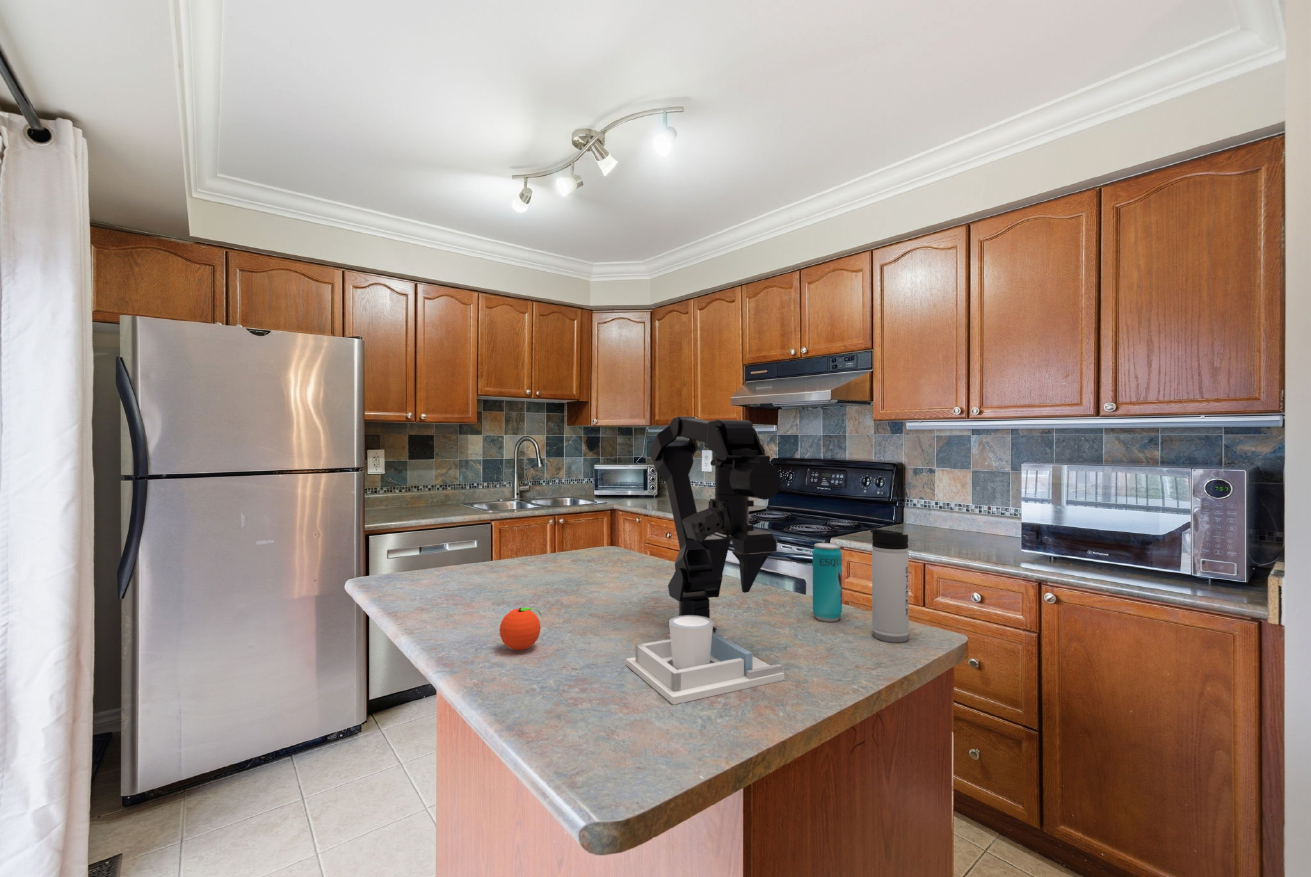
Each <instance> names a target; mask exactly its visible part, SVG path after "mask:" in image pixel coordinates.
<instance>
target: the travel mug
mask: <svg viewBox="0 0 1311 877" xmlns="http://www.w3.org/2000/svg"><path fill="white" fill-rule="evenodd" d="M870 533H872V537H871V539H872V540H871V541H872V542H871V543H872V544H871V548H872V550H871V579H872V581H871V590H872V591H871V603H872V604H871V608H872V610H871V611H872V612H871V618H872V622H871V623H872V624H871V626H872V628H871V631H872V637H874V638H875V639H877V640H879V641H881V642H887V643H893V644H894V643H895V644H897V643H899V644H900V643H905V642H907V641H908V640H909V639H910V632H909V629H910V626H909V625H910V622H909V621H910V616H909V614H910V610H909V609H910V607H909V604H910V602H909V600H910V599H909V598H910V596H909V592H910V591H909V590H910V588H909V586H910V585H909V581H910V579H909V571H910V570H909V535H908V534H903V533H902V532H899V531H894V530H887V529H878V528H875V527H872V528H870Z"/></svg>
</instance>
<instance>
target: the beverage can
mask: <svg viewBox="0 0 1311 877" xmlns="http://www.w3.org/2000/svg"><path fill="white" fill-rule="evenodd" d="M813 547H814V548H813V550H812V612H813V614H814V617H815V618H816V620H817V621H821V622H826V623H827V622H828V623H830V622H831V623H834V622H837V621H839V620H840V619H841V615H842V613H843V553H842V551H841V550H842V549H841V545H840V544H837V543H832V542H831V543H830V542H829V543H828V542H819V543H818V542H817V543H815V544H814V545H813Z"/></svg>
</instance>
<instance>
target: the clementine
mask: <svg viewBox="0 0 1311 877" xmlns="http://www.w3.org/2000/svg"><path fill="white" fill-rule="evenodd" d="M532 610H536V611H537V612H538V614H539V615H540V616H541V617H543V615H542V613H541V612H540V611H539V610H538V609H537V608H532V607H522V608H521V607H519V608H514V609H512V610H510V611H509V612H508V613H506V614H505V616H504V617H503V618H502V620H501V622H500V625H499V636H500V639H501V641H502V643H503V644H504V645H505V646H506V647H507V648H509V649H510V650H514V651H523V650H525V649H526V650H527V649H529V648H531V647H532V646H533V645H534V644H535V643H536V642H537V641H538V640H539V639H538V638H539V636H540V635H541V623H540V622H541V621H540V619H539V616H537V615H536V613H535V612H534V611H532Z"/></svg>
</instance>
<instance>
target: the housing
mask: <svg viewBox="0 0 1311 877" xmlns="http://www.w3.org/2000/svg"><path fill="white" fill-rule="evenodd" d="M723 637H724V638H725V639H727V640H729V641H730V637H728V636H726V635H725V636H723ZM625 666H627V668H629V669H630V670H631V671H632V672H634V673H635V674H636V675H637V676H638V677H640V678H641V680H643V681H644V682H646V683H647V684H648V685H649V686H650V687H651V688H653V690H655V691H656V692H657V693H658V694H659V695H661V696H662V697H663V698H664V699H665V700H667V702H669V703H671V704H672V705H677V704H683V703H686V702H691V701H696V700H701V699H705V698H710V697H713V696H718V695H722V694H727V693H732V692H737V691H742V690H745V689H750V688H754V687H759V686H763V685H764V686H765V685H768V684H772V683H776V682H777V683H778V682H781V681H782V682H783V681H785V672H783V665H781V664H779V663H776V664H773V665H772V664H771V665H770V664H768V663H767V662H764V661H763V660H761V659H759V658H757V657H755V656H754V655H753V669H752V670H747V671H746V676H745V675H744V660H743V659H741V658H737V659H732V660H727V661H720V660H719V659H717V658H715V657H714V656H712V655H711V654H710V664H706V665H701V666H696V667H690V668H685V669H680V670H677V669H675V668H674V667H673V661H672V650H671V638H669V639H663V640H657V641H650V642H645V643H639V644H635V656H634V657H627V658H625Z"/></svg>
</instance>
